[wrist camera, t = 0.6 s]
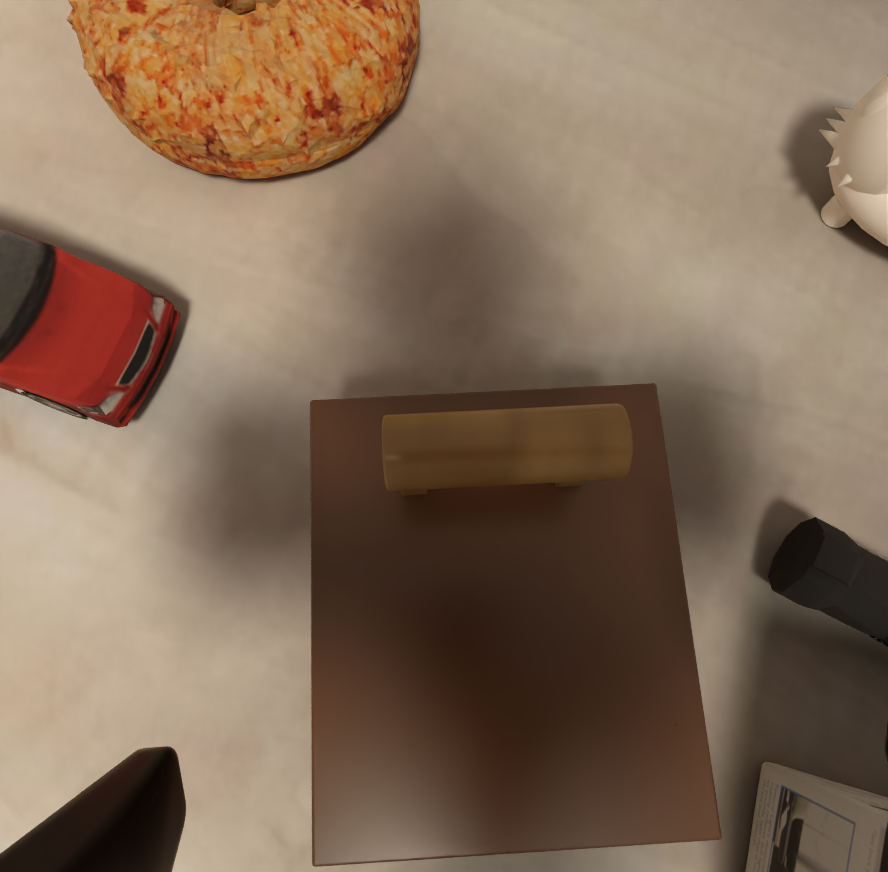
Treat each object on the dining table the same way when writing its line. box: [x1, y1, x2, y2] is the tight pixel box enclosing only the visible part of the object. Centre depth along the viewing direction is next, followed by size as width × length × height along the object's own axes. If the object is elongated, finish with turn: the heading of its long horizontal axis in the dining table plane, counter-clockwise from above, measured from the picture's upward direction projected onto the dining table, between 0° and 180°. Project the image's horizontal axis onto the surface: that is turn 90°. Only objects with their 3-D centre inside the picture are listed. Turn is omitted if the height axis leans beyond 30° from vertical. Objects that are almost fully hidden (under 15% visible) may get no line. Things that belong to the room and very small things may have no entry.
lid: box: [310, 383, 722, 867], centre depth 15 cm, size 11×9×5 cm
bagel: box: [67, 0, 420, 179], centre depth 25 cm, size 13×14×5 cm
